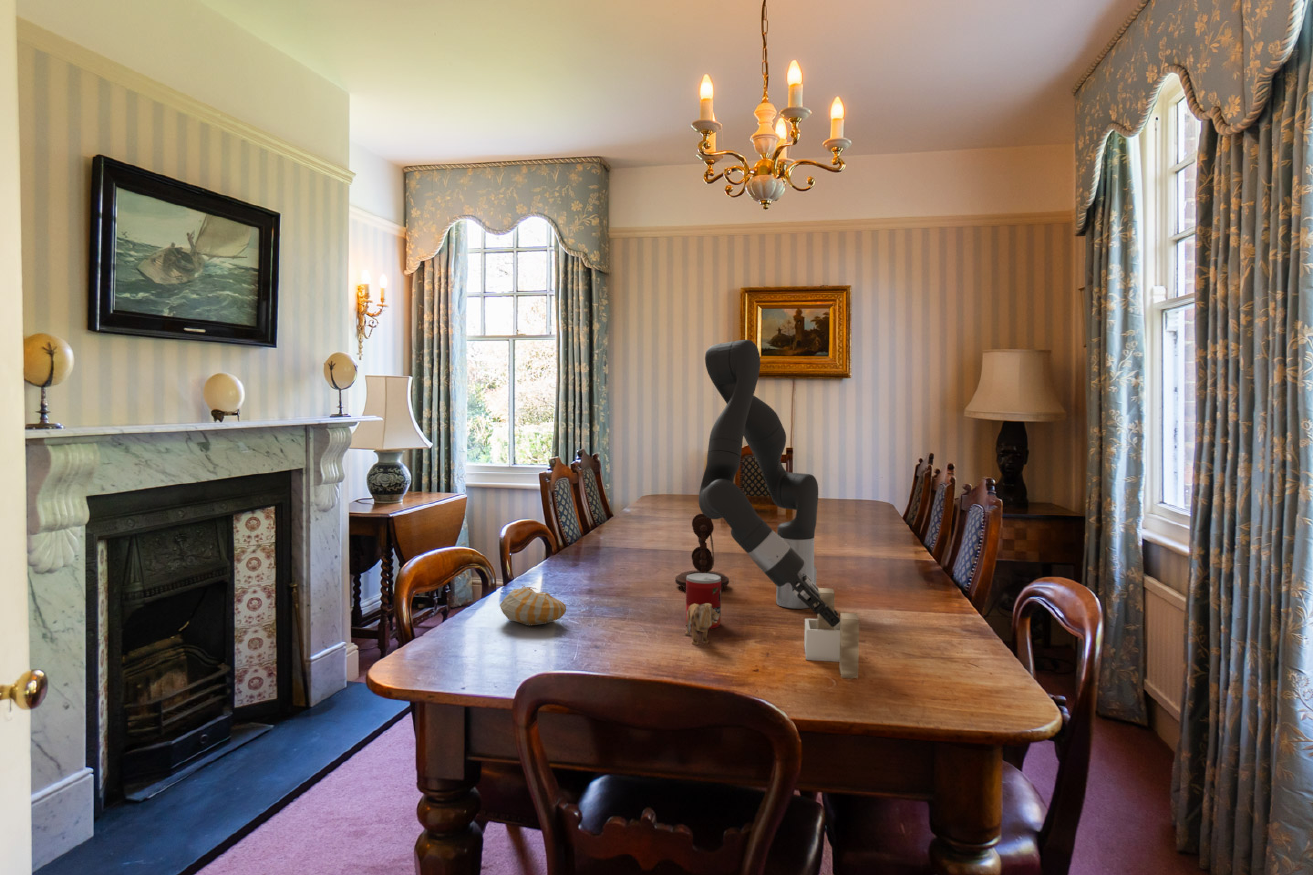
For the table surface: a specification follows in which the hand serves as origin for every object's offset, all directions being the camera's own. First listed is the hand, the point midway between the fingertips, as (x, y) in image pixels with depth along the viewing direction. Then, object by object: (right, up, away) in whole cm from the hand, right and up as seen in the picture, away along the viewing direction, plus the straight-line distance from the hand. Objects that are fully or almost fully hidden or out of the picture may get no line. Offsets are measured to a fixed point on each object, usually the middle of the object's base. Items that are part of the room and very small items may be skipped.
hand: (835, 620), depth 148 cm
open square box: (-2, -7, +1) cm, 7 cm away
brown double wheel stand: (-23, -5, +55) cm, 60 cm away
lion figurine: (-27, -7, +10) cm, 29 cm away
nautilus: (-65, -6, +23) cm, 69 cm away
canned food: (-25, -6, +21) cm, 33 cm away
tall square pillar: (-2, -5, 0) cm, 5 cm away
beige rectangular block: (0, -8, -10) cm, 13 cm away
